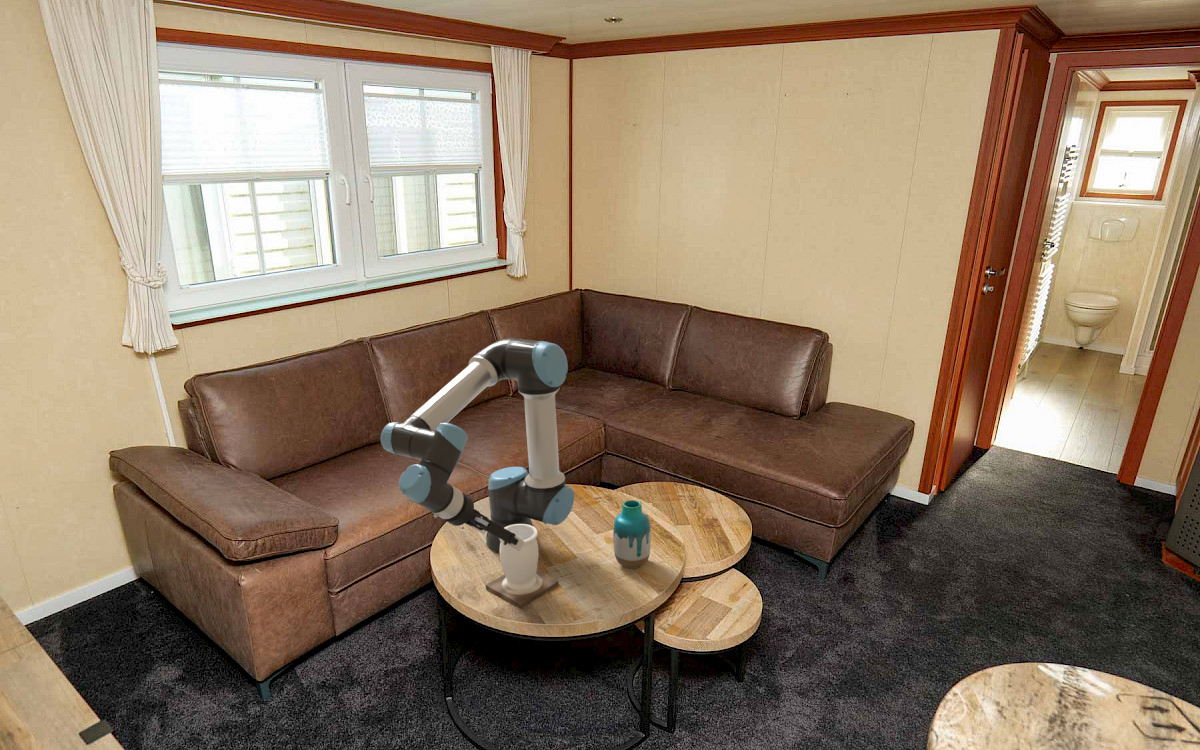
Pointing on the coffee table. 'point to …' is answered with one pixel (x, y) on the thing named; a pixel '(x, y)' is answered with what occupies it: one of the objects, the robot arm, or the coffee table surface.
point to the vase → (632, 535)
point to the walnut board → (522, 596)
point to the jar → (520, 558)
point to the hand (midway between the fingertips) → (503, 537)
